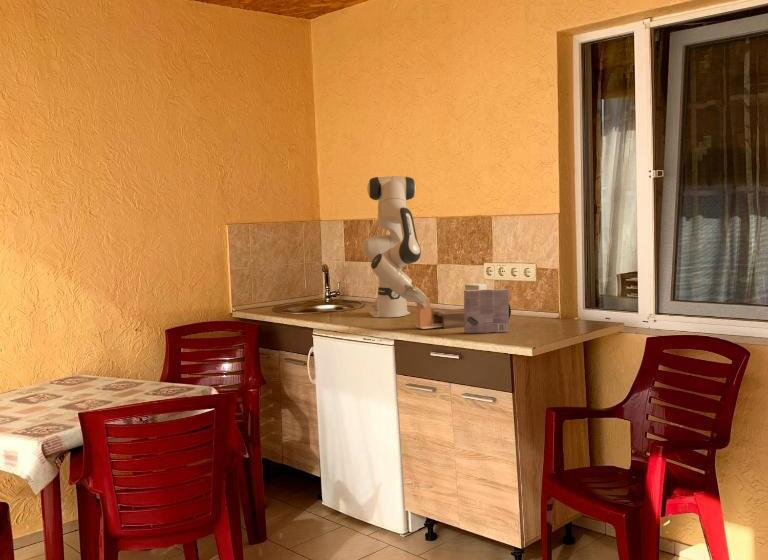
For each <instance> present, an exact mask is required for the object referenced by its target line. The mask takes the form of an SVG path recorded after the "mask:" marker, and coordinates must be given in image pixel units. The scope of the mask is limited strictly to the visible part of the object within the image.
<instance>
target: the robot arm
mask: <svg viewBox="0 0 768 560" xmlns="http://www.w3.org/2000/svg"><path fill="white" fill-rule="evenodd" d="M366 190H367V193H368V197H369V198H370V199H371V200H373V201H378V204H377V224H378V226H379V227H380V228H381V229H383V230H385V231H388V232H389V234H387V235H372V236H369V237H366V238H364V239H363V241H362V245H361V251H362V253H363V255H364V256H365V257H366V258H367V259H368V260H370V261H371V264H370V267H371V270H372V272H374V274H375V275H376V276H377V277H378V289H377V296H376V298H375V300H374V301H373V302H372V303H371V308H372V309H373V310H372V311H369V315H370V316H371V317H373V318H399V317H404V316H407V315H410V314H411V312H410V311H408V305H407V301H411V302H413V303H415V304H417V302H418V303H420V304H421V305H422V306H423V307H426V306H427V303H426V302H425V300H426V299H427V295H426V294H425V293H424V292H423V291H422V290H420V288H419V287H417V286H414V285H413V284H412V282H413V281H412V278H410V276H408V275H407V274H406V273H405V272H404V271H403V270H402V269H403V268H405V267H406V266H408V265H410V264H413V263H416V262H418V261H419V260H420V257H421V255H422V250H421V246H420V243H419V241H418V238H417V231H416V227H415V222H414V216H413V214H412V212H411V210H410V209H409V208H407V201H408V200H409V201H410V200H412V199H413V198H414V197H415V195H416V192H417V185H416V182H415V180H414V178H413V177H409V176H399V175H398V176H395V175H394V176H393V175H392V176H381V177H378V176H376V177H375V176H374V177H372V178H370V179H369V182H368V183H367V187H366Z"/></svg>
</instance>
